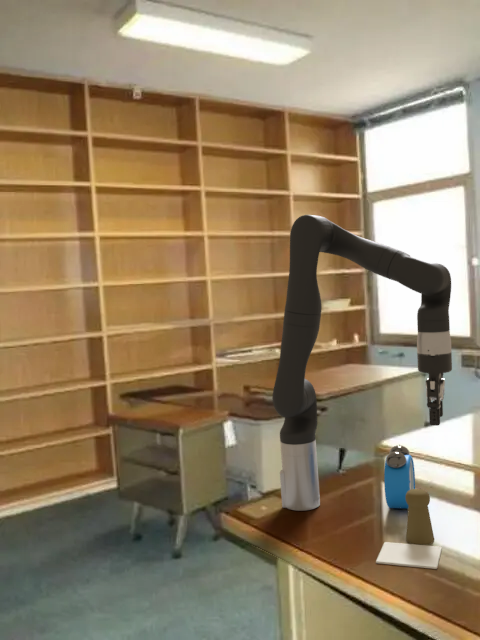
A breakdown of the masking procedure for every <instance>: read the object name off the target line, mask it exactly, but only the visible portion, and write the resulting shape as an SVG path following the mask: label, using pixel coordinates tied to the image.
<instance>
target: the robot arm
mask: <svg viewBox="0 0 480 640" xmlns="http://www.w3.org/2000/svg"><path fill="white" fill-rule="evenodd" d="M289 233H290V234H289V267H288V268H289V272H288V281H287V289H286V298H285V306H284V314H283V322H282V334H281V335H282V336H281V344H280V355H279V363H278V367H277V372H276V376H275V381H274V385H273V391H272V405H273V407H274V409H275V411H276V413H277V414H278V415H279V416H281V417H283V418H284V421H283V425H282V427H281V428H280V430H279V441H280V453H281V458H280V459H281V470H280V472H279V481H280V494H281V506H282V508H283V509H284V508H285V509H288V510H292V511H297V512H299V511H301V512H302V511H310V510H311V511H312V510H314V509H316V508H318V507H319V506H321V499H320V498H321V496H320V480H319V469H318V453H317V440H316V438H317V437H316V432H317V427H318V406H317V405H318V400H317V394H316V389H315V387H314V385H313V384H312V382H310V381H309V379H306V378H305V377H306V370H307V365H308V361H309V358H310V355H311V354H312V351H313V349H314V348H315V347H314V346H315V343H316V341H317V338H318V335H319V331H320V328H321V327H320V325H321V317H322V299H321V293H320V288H319V284H318V277H317V275H318V274H317V272H318V263H319V256H320V253H324V254H330V255H335V256H338V257H342V258H344V259H347V260H350V261H351V262H353V263H355V264H357V265H358V266H360V267H361V268H364V269H365V270H367V271H369V272H371V273H373V274H376V275H378V276H381V277H383V278H386V279H389V280H391V281H395V282H397V283H399V284H401V285H402V286H404V287H406V288H408V289H410V290H411V291H414V292H416V293H419V294H421V295H420V296H421V297H420V299H421V300H420V302H421V303H420V306H419V308H418V309H417V314H416V315H417V316H416V321H417V336H416V349H417V350H416V354H417V355H416V356H417V370H418V372H420V373H421V374H422V373H424V374H428V378H426V380H425V388H426V401H427V403H426V407H427V408H428V411H429V412H428V414H429V425H431V426H440V425H441V417H443V416H444V404H443V400H444V395H445V391H446V389H445V384H446V381H445V380H446V379H445V378H444V374H447V373H450V372H452V370H453V361H452V360H453V358H452V356H453V355H452V353H453V352H452V337H451V329H450V311H449V310H450V303H451V296H452V295H451V294H452V278H451V277H452V276H451V273H450V271H449V269H448V268H447V267H446V266H445V265H444V264H441V263H437V262H436V263H433V262H432V263H431V262H426V261H423V260H420V259H417V258H414V257H412V256H411V255H410V254H408V253H406V252H405V251H402V250H399V249H397V248H394V247H391V246H387V245H385V244H383V243H379V242H376V241H374V240H370V239H367V238H364V237H362V236H358V235H356V234H355V233H352V232H351V231H349V230H347V229H344V228H342V227H341V226H339V225H338V224H336V223H334V222H333V221H331V220H329V219H328V218H326V217H324V216H320V215H315V214H313V215H312V214H303V215H300V216H299V217H298V218H296V219H295V221H294V222H293V223H292V226H291V229H290V232H289Z"/></svg>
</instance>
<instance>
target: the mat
mask: <svg viewBox="0 0 480 640" xmlns="http://www.w3.org/2000/svg"><path fill="white" fill-rule="evenodd" d="M442 550H443V547H442V546H438V545H428V544H426V545H416V544H412V543H401V542H389V541H384V543H383V544H382V547H381V549H380V552H379V553H378V555H377V558H376V560H375V564H381V565H391V566H392V565H393V566H400V567H410V568H411V567H413V568H422V569H424V568H425V569H433V570H438V567H439V562H440V558H441V554H442Z"/></svg>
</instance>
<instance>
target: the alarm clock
mask: <svg viewBox="0 0 480 640" xmlns="http://www.w3.org/2000/svg"><path fill="white" fill-rule="evenodd" d="M383 478H384V483H383V484H384V497H385V502H386V506H387V507H388V508H389V509H405V510H408V506H409V505H408V504H407V502H406V499H405V496H406V493H407V491H409V490H411V489H416V474H415V463H414V458H413V456H412V455H411V454H410V451H409V449H408V448H407V447H406V446H404V445H401V444H398V445H394V446H392V447H391V448H390V450H389V453H388V454H387V455H386V457H385V462H384V477H383Z"/></svg>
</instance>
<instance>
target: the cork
mask: <svg viewBox="0 0 480 640" xmlns="http://www.w3.org/2000/svg"><path fill="white" fill-rule="evenodd" d="M405 499H406V502H407V504H408V505H409V506H408V509H407V522H406V531H405V532H406V534H405V536H406V537H405V540H406V541H407V542H408V544H415V545H430V544H432V543H434V542H435V536H434V532H433V531H434V530H433V526H432V519H431V515H430V511H429V504H430V502H431V496H430V493H429V492H428V491H427V490H425V489H423V488H422V489H421V488H415V489H411V490H409V491H407V493H406V496H405Z"/></svg>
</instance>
